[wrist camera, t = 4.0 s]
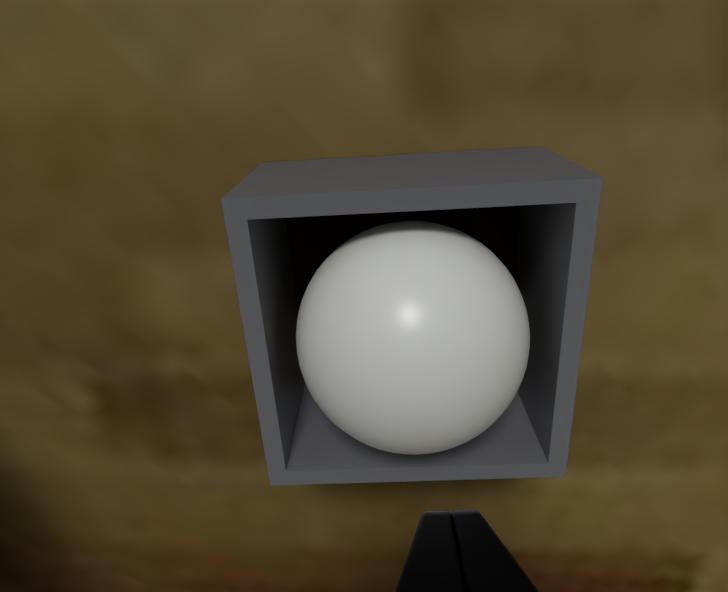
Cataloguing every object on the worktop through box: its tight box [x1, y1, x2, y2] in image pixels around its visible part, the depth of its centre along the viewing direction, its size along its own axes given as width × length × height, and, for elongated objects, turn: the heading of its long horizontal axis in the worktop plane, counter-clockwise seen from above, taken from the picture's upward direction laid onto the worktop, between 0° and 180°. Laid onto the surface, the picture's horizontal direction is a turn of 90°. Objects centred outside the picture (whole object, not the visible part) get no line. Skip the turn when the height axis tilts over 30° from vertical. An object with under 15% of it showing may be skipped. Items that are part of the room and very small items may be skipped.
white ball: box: [296, 221, 530, 455], centre depth 14 cm, size 6×6×6 cm
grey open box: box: [221, 147, 603, 486], centre depth 15 cm, size 8×8×4 cm
